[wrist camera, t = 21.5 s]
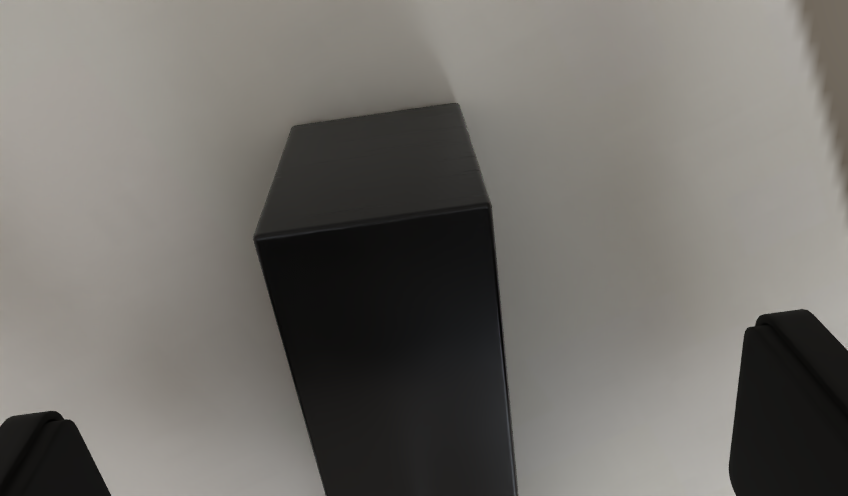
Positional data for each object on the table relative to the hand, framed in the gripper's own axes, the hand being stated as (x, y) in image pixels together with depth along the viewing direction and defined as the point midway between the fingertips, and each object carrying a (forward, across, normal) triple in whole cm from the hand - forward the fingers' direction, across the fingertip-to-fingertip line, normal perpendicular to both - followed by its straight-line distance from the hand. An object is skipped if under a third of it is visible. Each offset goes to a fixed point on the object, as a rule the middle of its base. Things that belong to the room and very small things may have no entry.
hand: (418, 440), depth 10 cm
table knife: (+2, 0, +5) cm, 6 cm away
